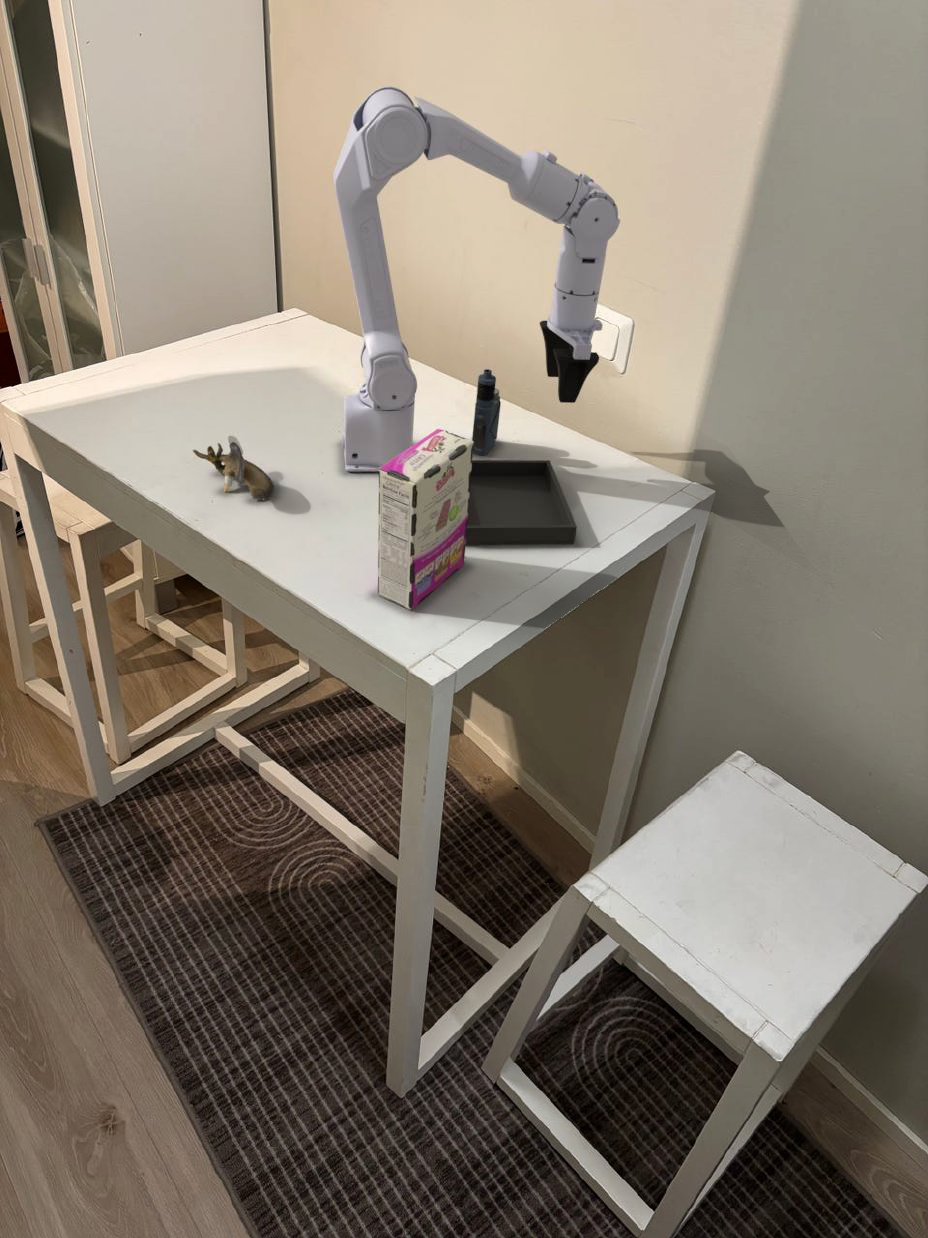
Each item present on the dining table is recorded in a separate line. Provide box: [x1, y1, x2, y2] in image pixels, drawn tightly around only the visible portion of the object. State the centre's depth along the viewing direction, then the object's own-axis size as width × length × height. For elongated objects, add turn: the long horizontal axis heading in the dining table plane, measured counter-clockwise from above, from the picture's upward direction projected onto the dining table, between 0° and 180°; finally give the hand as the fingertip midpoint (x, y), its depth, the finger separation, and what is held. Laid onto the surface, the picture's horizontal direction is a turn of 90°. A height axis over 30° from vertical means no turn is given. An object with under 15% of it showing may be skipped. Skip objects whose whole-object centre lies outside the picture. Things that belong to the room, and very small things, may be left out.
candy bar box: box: [377, 428, 474, 611], centre depth 104 cm, size 11×5×16 cm, turn 148°
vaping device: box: [471, 368, 501, 456], centre depth 131 cm, size 3×5×12 cm, turn 158°
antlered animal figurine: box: [192, 435, 275, 502], centre depth 120 cm, size 8×7×9 cm
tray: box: [465, 459, 578, 546], centre depth 122 cm, size 14×16×2 cm
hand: (560, 388), depth 129 cm, fingers open, 7 cm apart
